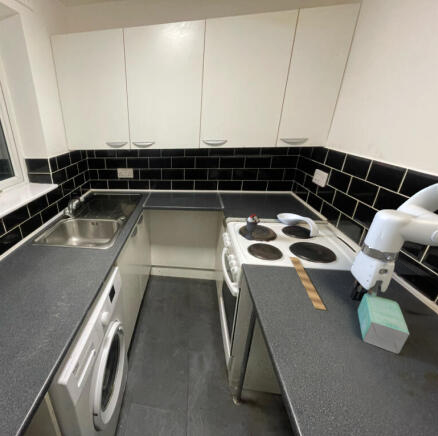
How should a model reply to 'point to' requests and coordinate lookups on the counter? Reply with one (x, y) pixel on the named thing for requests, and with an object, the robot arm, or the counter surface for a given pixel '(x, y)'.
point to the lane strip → (307, 284)
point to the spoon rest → (294, 219)
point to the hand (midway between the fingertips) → (356, 299)
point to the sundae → (251, 225)
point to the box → (382, 323)
